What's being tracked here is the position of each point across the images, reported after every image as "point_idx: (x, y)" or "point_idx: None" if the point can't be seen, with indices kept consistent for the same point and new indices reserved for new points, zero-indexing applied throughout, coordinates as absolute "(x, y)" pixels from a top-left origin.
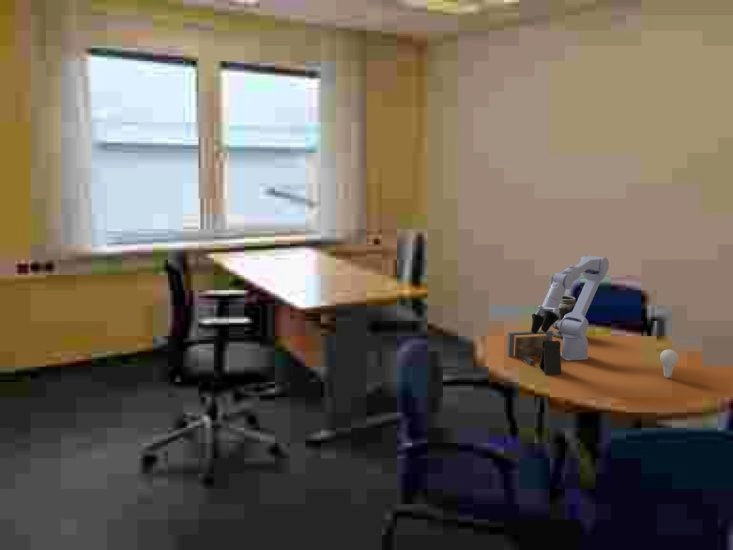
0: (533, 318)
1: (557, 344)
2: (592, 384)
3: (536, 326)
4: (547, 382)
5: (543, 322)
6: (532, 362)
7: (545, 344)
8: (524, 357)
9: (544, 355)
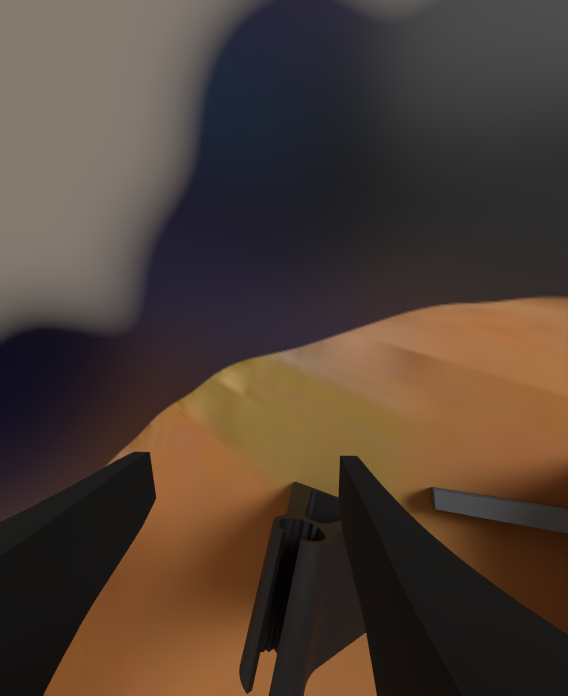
0: (455, 598)
1: (247, 635)
2: (169, 607)
3: (361, 553)
4: (237, 444)
5: (68, 497)
6: (433, 502)
7: (272, 526)
8: (534, 504)
9: (296, 505)
